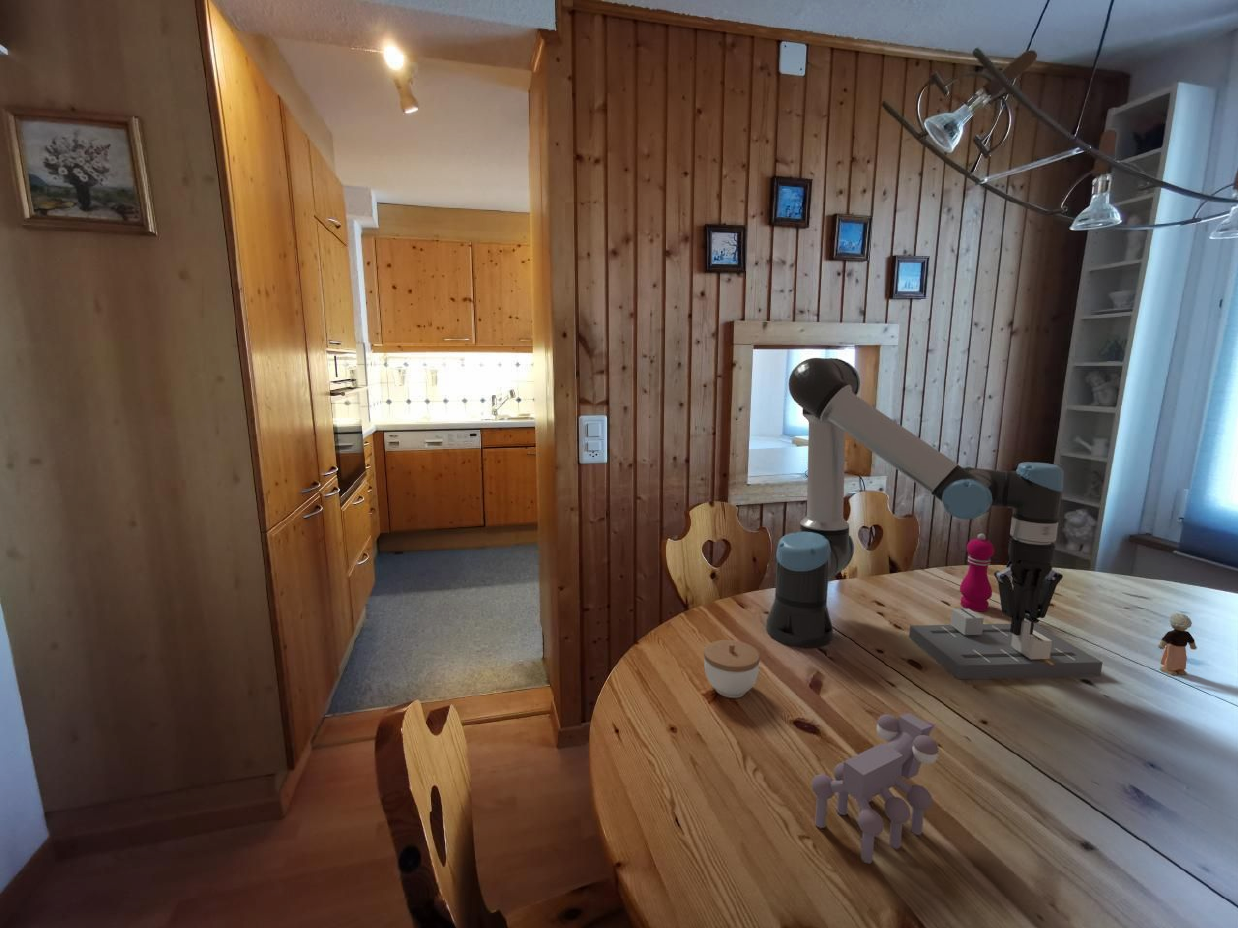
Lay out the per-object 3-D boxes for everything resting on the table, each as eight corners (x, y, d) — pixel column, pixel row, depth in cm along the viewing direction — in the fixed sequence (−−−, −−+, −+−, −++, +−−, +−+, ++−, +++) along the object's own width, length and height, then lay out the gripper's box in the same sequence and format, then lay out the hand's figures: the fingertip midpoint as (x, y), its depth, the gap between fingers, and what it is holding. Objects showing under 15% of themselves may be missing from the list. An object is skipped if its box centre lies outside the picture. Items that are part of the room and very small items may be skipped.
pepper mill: (962, 610, 146) (970, 536, 143) (954, 599, 153) (962, 528, 150) (994, 613, 144) (1002, 538, 141) (985, 602, 151) (993, 531, 148)
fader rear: (964, 635, 125) (966, 617, 125) (950, 625, 130) (952, 608, 129) (981, 634, 125) (983, 617, 125) (967, 624, 130) (969, 607, 130)
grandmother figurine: (1173, 664, 119) (1183, 608, 117) (1195, 673, 115) (1206, 616, 113) (1146, 669, 117) (1156, 612, 115) (1168, 678, 114) (1178, 620, 112)
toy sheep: (894, 768, 88) (905, 691, 85) (962, 818, 79) (977, 733, 76) (802, 816, 78) (811, 731, 76) (867, 879, 69) (881, 785, 67)
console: (959, 680, 113) (961, 666, 113) (909, 637, 131) (910, 625, 131) (1102, 676, 114) (1104, 662, 114) (1032, 634, 132) (1034, 622, 132)
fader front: (1030, 659, 115) (1033, 640, 114) (1012, 647, 120) (1014, 629, 119) (1049, 658, 115) (1052, 640, 114) (1030, 647, 120) (1033, 628, 119)
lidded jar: (712, 669, 117) (713, 627, 116) (763, 682, 113) (765, 638, 111) (695, 696, 108) (696, 650, 106) (751, 710, 103) (753, 663, 101)
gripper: (1014, 545, 109) (1001, 658, 113) (1079, 544, 109) (1064, 657, 113) (988, 534, 116) (976, 640, 120) (1048, 533, 117) (1035, 639, 121)
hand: (1019, 648), depth 117 cm, fingers closed
